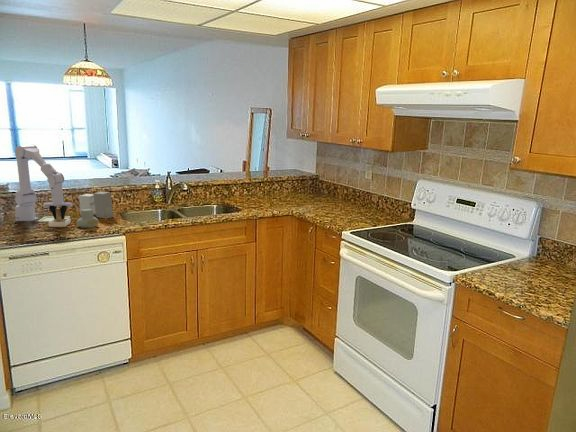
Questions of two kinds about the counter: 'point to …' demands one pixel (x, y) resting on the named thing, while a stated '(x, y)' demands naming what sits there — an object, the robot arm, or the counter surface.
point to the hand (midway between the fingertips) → (59, 218)
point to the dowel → (58, 215)
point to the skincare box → (103, 204)
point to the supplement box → (87, 202)
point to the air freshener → (87, 219)
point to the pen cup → (59, 223)
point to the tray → (50, 218)
